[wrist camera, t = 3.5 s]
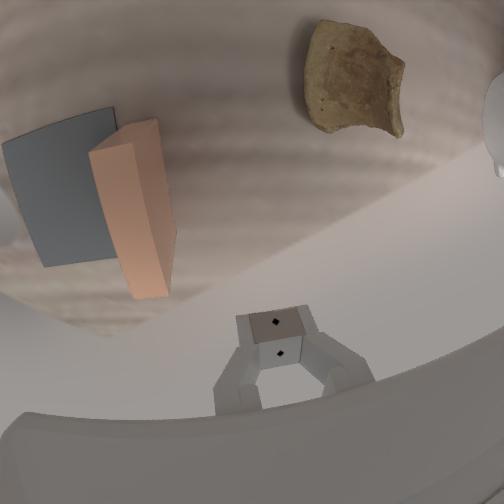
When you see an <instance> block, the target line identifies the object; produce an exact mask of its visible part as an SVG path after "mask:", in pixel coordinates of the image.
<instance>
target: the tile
mask: <svg viewBox="0 0 504 504" xmlns="http://www.w3.org/2000/svg"><path fill="white" fill-rule="evenodd" d="M88 154H89V158H90V162H91V167H92V171H93V175H94V179H95V183H96V187H97V191H98V194H99V198H100V202H101V205H102V209H103V212H104V216H105V219H106V222H107V225H108V229H109V232H110V235H111V238H112V241H113V244H114V247H115V250H116V253H117V256H118V259H119V262H120V265H121V267H122V270H123V273H124V276H125V278H126V281H127V284H128V286H129V289H130V291H131V294H132V297H133V299H134V300H135V299H145V298H155V297H164V296H169V293H170V284H171V274H172V266H173V257H174V249H175V242H176V234H177V230H176V225H175V220H174V215H173V210H172V205H171V199H170V194H169V188H168V183H167V177H166V171H165V165H164V159H163V153H162V146H161V139H160V133H159V125H158V118H157V119H151V120H146V121H141V122H136V123H131V124H126V125H125V126H123V127H122V128H121V129H119V130H118V131H116V132H115V133H114V134H112V135H111V136H109V137H108V138H107V139H105V140H104V141H103V142H101V143H100V144H99V145H97V146H96V147H95V148H93V149H92V150H91V151H90V152H88Z"/></svg>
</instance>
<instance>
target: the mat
mask: <svg viewBox="0 0 504 504" xmlns="http://www.w3.org/2000/svg"><path fill="white" fill-rule="evenodd" d="M116 131H117V128H116V122H115V115H114V109H113V107H110V108H106V109H102V110H98V111H94V112H91V113H87V114H84V115H80V116H77V117H74V118H71V119H67V120H64V121H61V122H58V123H55V124H52V125H50V126H47V127H44V128H41V129H38V130H36V131H33V132H31V133H28V134H26V135H23V136H21V137H18V138H16V139H13V140H11V141H9V142H6V143H4V144H2V149H3V154H4V158H5V161H6V165H7V169H8V172H9V176H10V179H11V183H12V186H13V189H14V192H15V195H16V198H17V201H18V204H19V207H20V210H21V213H22V215H23V218H24V221H25V223H26V226H27V229H28V231H29V234H30V236H31V238H32V241H33V243H34V246H35V248H36V250H37V252H38V255H39V257H40V259H41V261H42V263H43V266H44V267H51V266H58V265H65V264H73V263H80V262H87V261H94V260H102V259H109V258H116V257H118V256H117V253H116V250H115V247H114V244H113V241H112V238H111V235H110V232H109V229H108V225H107V222H106V219H105V216H104V212H103V209H102V205H101V202H100V198H99V194H98V191H97V187H96V183H95V179H94V175H93V171H92V167H91V162H90V158H89V154H88V152H90V151H91V150H92V149H93V148H95V147H96V146H97V145H99V144H100V143H101V142H103V141H104V140H105V139H107V138H108V137H109V136H111V135H112V134H114V133H115V132H116Z"/></svg>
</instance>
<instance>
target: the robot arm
mask: <svg viewBox="0 0 504 504" xmlns="http://www.w3.org/2000/svg"><path fill="white" fill-rule="evenodd" d="M483 134H484V140H485V144H486V147H487V150H488V152H489V154H490V156H491V157H492V159H493V162H494V169H495V173H496V176H498V177H500V178H504V71H503V72H502V73H501V74H500V75H498V76H497V77H496V78H495V79H494V80H493V81H492V83H491V85H490V86H489V88H488V91H487V94H486V97H485V102H484V107H483ZM236 323H237V330H238V338H239V345H240V346H239V347H237V348H236V350H235V352H234V353H233V355H232V357H231V359H230V360H229V362H228V364H227V365H226V367H225V369H224V371H223V372H222V374H221V376H220V378H219V379H218V381H217V383H216V384H215V386H214V388H213V392H214V402H215V412H216V416H209V417H198V418H185V419H167V420H105V419H87V418H74V417H64V416H55V415H47V414H40V413H34V412H24V413H23V414H21V415H20V416H19V417H18V418H16V420H14V421H13V422H12V423H11V424H10V426H9V427H8V428H7V429H6V430H5V431H4V432H3V434H2V436H1V438H0V504H504V326H503V327H501V328H499V329H498V330H496V331H494V332H492V333H490V334H488V335H486V336H484V337H482V338H481V339H479V340H477V341H475V342H473V343H471V344H468V345H467V346H464V347H462V348H460V349H458V350H456V351H454V352H451V353H449V354H447V355H445V356H442V357H440V358H438V359H435V360H433V361H431V362H428V363H426V364H423V365H421V366H418V367H416V368H413V369H411V370H408V371H405V372H402V373H400V374H397V375H394V376H391V377H388V378H386V379H382V380H380V381H375V379H374V377H373V374H372V373H371V370H370V368H369V366H368V364H367V362H366V360H365V359H364V358H363V357H361V356H359V355H358V354H356V353H355V352H353V351H352V350H350V349H349V348H347V347H346V346H344V345H342V344H341V343H339V342H338V341H336V340H335V339H333V338H332V337H330V336H328V335H327V334H325V333H324V332H319V330H318V328H317V325H316V323H315V321H314V318H313V316H312V314H311V312H310V309H309V307H308V305H301V306H295V307H289V308H284V309H278V310H272V311H267V312H259V313H251V314H245V315H237V316H236ZM296 363H300V364H301V365H302V366H303V367H304V368H305V369H306V370H307V371H309V372H310V373H311V374H312V375H313V376H314V377H316V378H317V379H318V380H319V381H320V382H321V383H322V384H324V385H325V387H324V390H323V394H322V397H320V398H316V399H311V400H307V401H303V402H298V403H293V404H288V405H283V406H278V407H273V408H267V409H262V405H261V400H260V396H259V392H258V387H257V386H256V385H255V383H256V380H257V378H258V376H259V373H260V370H263V369H268V368H273V367H278V366H284V365H290V364H296Z"/></svg>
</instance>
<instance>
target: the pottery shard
mask: <svg viewBox="0 0 504 504" xmlns="http://www.w3.org/2000/svg"><path fill="white" fill-rule="evenodd" d="M404 68H405V62H403V61H402V60H401V59H399V58H397V57H395V56H393V55H391V54H390V53H389V52H388V51H387V49H386V48H385V47H384V46H382V45H381V44H380V42H379V40H378V39H377V38H376V37H375V36H374V34H373V33H372V32H371V31H370V30H369V29H368V28H364V27H360V26H354V25H351V24H348V23H337V22H334V21H328V20H320V22H319V23H318V24H317V26H316V28H315V30H314V32H313V34H312V37H311V41H310V45H309V49H308V53H307V57H306V62H305V68H304V95H305V99H304V100H305V102H306V105H307V109H308V113H309V116H310V119H311V121H312V123H313V124H314V125H315V126H316V127H317V128H318V129H320V130H322V131H324V132H326V133H333V132H335V131H338V130H340V129H341V128H346V127H348V126H354V125H356V126H358V125H367V126H368V127H371V128H372V127H375V128H379V129H382V130H385V131H387V132H388V133H390V134H391V135H393V136H395V137H396V138H397V139H398V138H401V137H402V135H403V133H404V128H403V124H402V121H401V116H400V108H399V94H400V85H401V81H402V75H403V71H404Z"/></svg>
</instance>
